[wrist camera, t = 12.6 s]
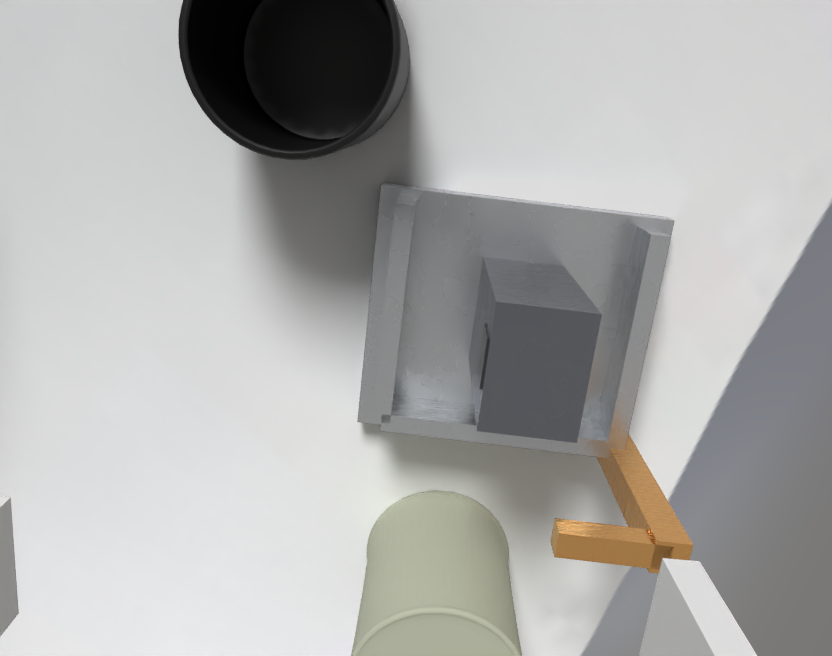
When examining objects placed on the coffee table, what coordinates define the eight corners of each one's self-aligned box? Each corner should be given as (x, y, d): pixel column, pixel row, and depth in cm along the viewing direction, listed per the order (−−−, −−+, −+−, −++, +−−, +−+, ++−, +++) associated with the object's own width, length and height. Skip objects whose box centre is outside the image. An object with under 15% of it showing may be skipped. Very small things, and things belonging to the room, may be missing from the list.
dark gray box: (466, 358, 42) (474, 430, 32) (481, 256, 40) (493, 301, 31) (547, 367, 42) (579, 443, 32) (565, 266, 40) (604, 314, 31)
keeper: (360, 412, 45) (327, 533, 32) (383, 182, 41) (356, 215, 28) (618, 443, 45) (689, 577, 32) (666, 216, 41) (770, 265, 28)
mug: (468, -21, 38) (476, -61, 29) (356, 181, 41) (334, 200, 32) (308, -124, 37) (266, -196, 28) (206, 93, 40) (140, 87, 31)
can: (341, 569, 48) (309, 713, 37) (416, 464, 46) (407, 582, 34) (457, 635, 49) (462, 794, 38) (536, 536, 47) (567, 673, 35)
